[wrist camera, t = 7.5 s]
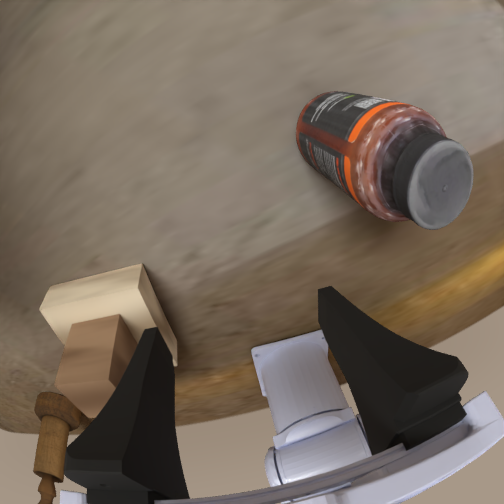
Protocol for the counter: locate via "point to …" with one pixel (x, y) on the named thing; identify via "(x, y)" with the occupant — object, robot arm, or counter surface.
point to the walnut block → (94, 362)
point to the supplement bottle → (386, 157)
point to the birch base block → (108, 303)
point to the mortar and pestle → (53, 440)
